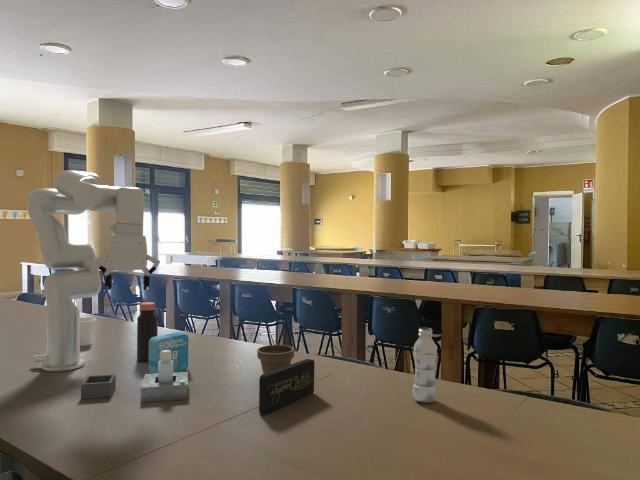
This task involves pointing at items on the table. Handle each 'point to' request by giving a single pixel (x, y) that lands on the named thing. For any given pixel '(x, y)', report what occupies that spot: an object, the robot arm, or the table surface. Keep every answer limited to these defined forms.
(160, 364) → the plug
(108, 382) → the grey open box
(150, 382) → the port
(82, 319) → the dixie cup
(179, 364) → the data package
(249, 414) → the table surface
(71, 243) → the robot arm
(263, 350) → the flower pot
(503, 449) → the table surface
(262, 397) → the nameplate
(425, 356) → the plastic bottle
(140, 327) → the vinegar
